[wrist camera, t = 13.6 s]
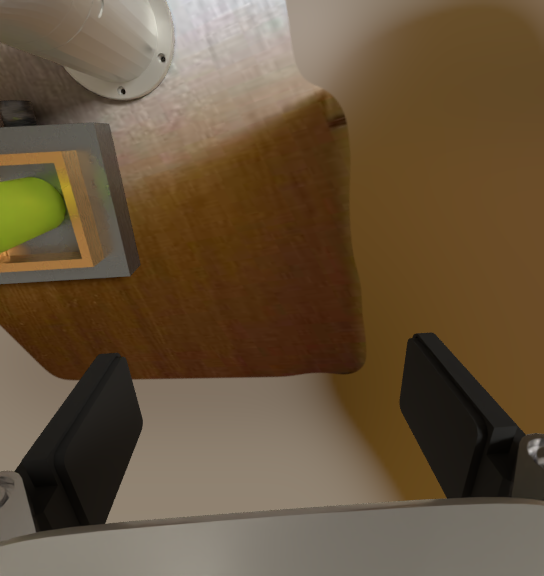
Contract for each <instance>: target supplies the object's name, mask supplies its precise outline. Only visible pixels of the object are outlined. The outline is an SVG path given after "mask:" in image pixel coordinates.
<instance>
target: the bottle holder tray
mask: <svg viewBox="0 0 544 576" xmlns="http://www.w3.org/2000/svg"><path fill="white" fill-rule="evenodd" d="M0 114H1V117H2V120H3V123H4V126H5V127H1V128H0V182H3V181H9V180H14V179H20V178H26V177H34V178H39V179H42V180H44V181H46V182H48V183H49V184H51V185H52V186H53V187H54V188H55V189H56V190H57V191H58V192H59V194H60V195H61V197H62V199H63V201H64V204H65V217H64V220H63V221H62V223H61V224H60V225H59V226H58V227H56V228H55V229H52V230H50V231H48V232H46V233H44V234H41V235H39V236H37V237H35V238H33V239H30V240H28V241H26V242H24V243H22V244H19V245H17V246H15V247H13V248H11V249H8V250H6V251H4V252H2V253H0V284H10V283H26V282H42V281H59V280H75V279H91V278H108V277H124V276H131V275H132V274H133V273H134V271H135V270H136V269H137V268H138V267H139V266H140V261H139V256H138V252H137V247H136V243H135V238H134V234H133V229H132V225H131V220H130V216H129V211H128V207H127V202H126V198H125V193H124V189H123V184H122V180H121V175H120V171H119V166H118V162H117V157H116V153H115V148H114V144H113V139H112V135H111V130H110V126H109V124H104V123H77V124H58V125H39V126H38V124H37V121H36V117H35V114H34V111H33V107H32V104H31V102H29V101H0Z"/></svg>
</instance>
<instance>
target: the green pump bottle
mask: <svg viewBox="0 0 544 576" xmlns="http://www.w3.org/2000/svg"><path fill="white" fill-rule="evenodd" d="M64 217H65V204H64V201H63V199H62V197H61V195H60V194H59V192H58V191H57V190H56V189H55V188H54V187H53V186H52V185H51V184H49V183H48V182H46V181H44V180H42V179H39V178H34V177H26V178H20V179H14V180H9V181H3V182H0V253H2V252H4V251H6V250H8V249H11V248H13V247H15V246H17V245H19V244H22V243H24V242H26V241H28V240H30V239H33V238H35V237H37V236H39V235H41V234H44V233H46V232H48V231H50V230H52V229H55V228H56V227H58V226H59V225H60V224H61V223H62V221H63V220H64Z"/></svg>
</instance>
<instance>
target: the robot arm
mask: <svg viewBox="0 0 544 576" xmlns="http://www.w3.org/2000/svg"><path fill="white" fill-rule="evenodd" d="M0 43H3V44H6V45H8V46H11V47H14V48H16V49H19V50H22V51H25V52H27V53H30V54H33V55H36V56H38V57H41V58H44V59H47V60H49V61H52V62H55V63H57V64H60V65H62V66H63V67H64V69H65V70H66V71H67V72H68V73H69V74H70V76H71V77H72V78H73V79H74V80H75V81H77V82H78V83H79V84H80V85H82V86H83V87H84V88H86V89H87V90H89V91H91V92H93V93H95V94H97V95H99V96H103V97H106V98H109V99H114V100H132V99H136V98H140V97H142V96H144V95H146V94H148V93H150V92H151V91H152V90H154V89H155V88H156V87H157V86H158V85H159V84H160V83H161V81H162V80H163V79H164V78H165V76H166V74H167V72H168V70H169V68H170V65H171V61H172V58H173V54H174V44H175V37H174V25H173V21H172V16H171V12H170V9H169V7H168V4H167V1H166V0H0ZM162 57H165V59H166V60H165V62H162V61H161V59H162ZM123 89H125V91H126V93H125V94H123V93H122V90H123ZM400 409H401V411H402V414H403V416H404V417H405V419H406V421H407V423H408V425H409V427H410V429H411V431H412V433H413V435H414V436H415V438H416V440H417V442H418V444H419V446H420V448H421V450H422V452H423V454H424V455H425V457H426V459H427V461H428V463H429V465H430V467H431V469H432V471H433V472H434V474H435V476H436V478H437V480H438V482H439V484H440V486H441V487H442V489H443V491H444V493H445V495H446V497H447V499H430V500H412V501H398V502H384V503H368V504H353V505H339V506H324V507H311V508H298V509H283V510H270V511H257V512H243V513H230V514H217V515H205V516H191V517H179V518H166V519H154V520H141V521H129V522H119V523H109V524H105V522H106V520H107V517H108V514H109V512H110V510H111V507H112V505H113V502H114V499H115V497H116V494H117V492H118V489H119V486H120V484H121V481H122V479H123V476H124V474H125V471H126V469H127V466H128V464H129V461H130V458H131V456H132V453H133V451H134V448H135V446H136V443H137V441H138V438H139V435H140V433H141V430H142V425H143V420H142V415H141V412H140V408H139V404H138V401H137V397H136V393H135V390H134V386H133V382H132V378H131V375H130V371H129V367H128V364H127V360H126V358H125V357H121V356H120V354H119V353H109V354H99V355H98V356H97V357H96V359H95V360H94V361H93V363H92V364H91V365H90V367H89V368H88V370H87V371H86V372H85V374H84V375H83V377H82V378H81V379H80V381H79V382H78V383H77V385H76V386H75V388H74V389H73V390H72V392H71V393H70V394H69V396H68V397H67V399H66V400H65V401H64V403H63V404H62V406H61V407H60V408H59V410H58V411H57V412H56V414H55V415H54V417H53V418H52V419H51V421H50V422H49V423H48V425H47V426H46V428H45V429H44V430H43V432H42V433H41V435H40V436H39V437H38V439H37V440H36V441H35V443H34V444H33V446H32V447H31V449H30V450H29V451H28V453H27V454H26V455H25V457H24V458H23V459H22V462H21V463H20V465H19V466H18V467H17V469H16V470H15V471H2V472H0V576H544V434H537V433H535V434H528V435H525V433H524V432H523V431H522V430H521V429H520V428H519V427H518V426H517V424H516V423H515V422H514V421H513V420H512V419H511V418H510V417H509V416H508V415H507V413H506V412H505V411H504V410H503V409H502V408H501V407H500V406H499V405H498V403H497V402H496V401H495V400H494V399H493V398H492V397H491V396H490V395H489V393H488V392H487V391H486V390H485V389H484V388H483V387H482V386H481V385H480V383H478V381H477V380H476V379H475V378H474V377H473V376H472V375H471V374H470V372H469V371H468V370H467V369H466V368H465V367H464V366H463V365H462V364H461V363H460V361H459V360H458V359H457V358H456V357H455V356H454V355H453V354H452V352H451V351H450V350H449V349H448V348H447V347H446V346H445V345H444V344H443V343H442V341H441V340H439V338H438V337H437V336H436V335H435V334H434V333H418V334H414V335H413V338H410V339H409V340H408V342H407V351H406V357H405V364H404V372H403V379H402V387H401V394H400Z"/></svg>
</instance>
